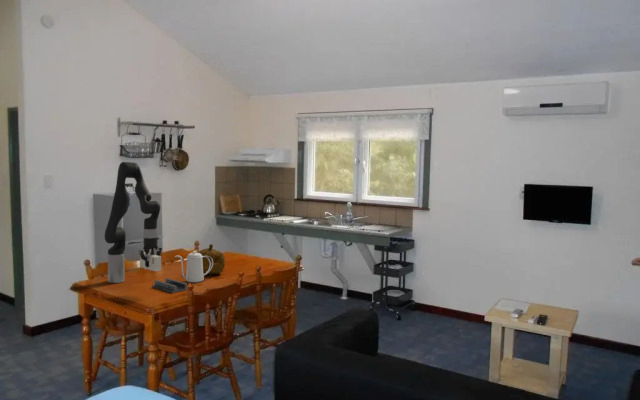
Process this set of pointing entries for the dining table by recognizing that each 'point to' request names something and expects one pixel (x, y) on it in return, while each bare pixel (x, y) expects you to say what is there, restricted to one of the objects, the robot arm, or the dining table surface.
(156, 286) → the bottom track
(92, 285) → the dining table surface
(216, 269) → the decorative pumpkin
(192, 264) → the coffeepot
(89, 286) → the dining table surface
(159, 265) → the white rectangular block
